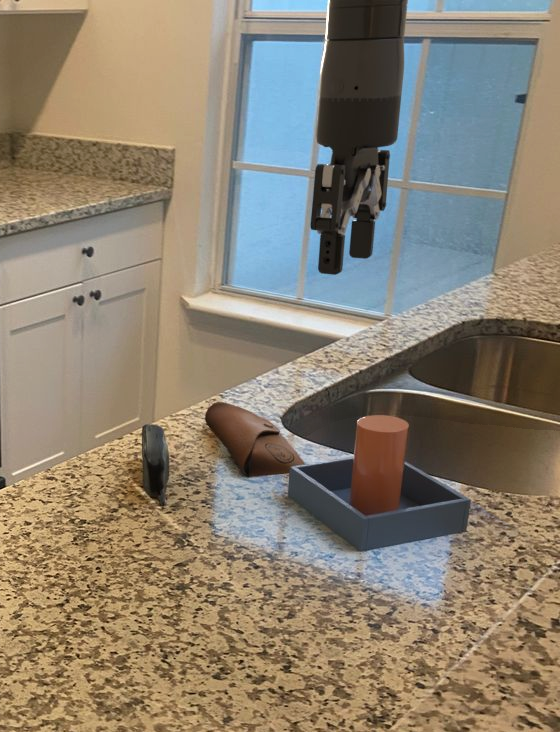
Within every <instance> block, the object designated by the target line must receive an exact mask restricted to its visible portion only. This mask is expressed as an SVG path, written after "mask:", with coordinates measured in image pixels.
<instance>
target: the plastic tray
mask: <svg viewBox="0 0 560 732" xmlns="http://www.w3.org/2000/svg"><path fill="white" fill-rule="evenodd" d="M353 460H354V455H352V456H348V457H347V456H346V457H341V458H334V459H329V460H324V461H317V462H311V463H305V464H304V465H298V466H291V467H290V470H289V474H288V483H287V484H288V485H287V498H289V499H290V500H291V501H292V502H294V503H295V504H296V505H298V506H299V507H301V508H302V510H304V511H306V512H307V513H308V514H310V515H311V516H312V517H314V518H315V519H316V520H318V521H319V522H320V523H321V524H323V525H324V526H326V527H327V528H328V529H329V530H331V531H332V532H333V533H335V534H336V535H337V536H338V537H340V538H341V539H342V540H344V541H345V542H346V543H348V545H350V546H352V547H353V548H354V549H356V550H357V551H358V552H359V553H362V552H368V551H373V550H377V549H382V548H383V549H384V548H387V547H389V548H390V547H395V546H399V545H404V544H410V543H415V542H420V541H425V540H430V539H435V538H441V537H446V536H451V535H456V534H463V533H466V532H467V530H468V524H469V523H468V522H469V517H470V510H471V504H472V499H470V498H469V497H467V496H466V495H464V494H462V493H460V492H458V491H457V490H455V489H454V488H452V487H450V486H448V485H447V484H445V483H444V482H442V481H440V480H439V479H437V478H435V477H433V476H431V475H429V474H428V473H426V472H425V471H423V470H422V469H419V468H418V467H416V466H414V465H412V464H411V463H410V462H408V461H406V460H405V463H404V471H403V479H402V488H401V496H400V505H399V510H396V511H390V512H385V513H379V514H374V515H368V516H365V515H363V514H362V513H361V512H359V511H358V510H356V509H355V508H353V507H352V506H351V505H349V501H350V491H351V480H352V470H353Z"/></svg>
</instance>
